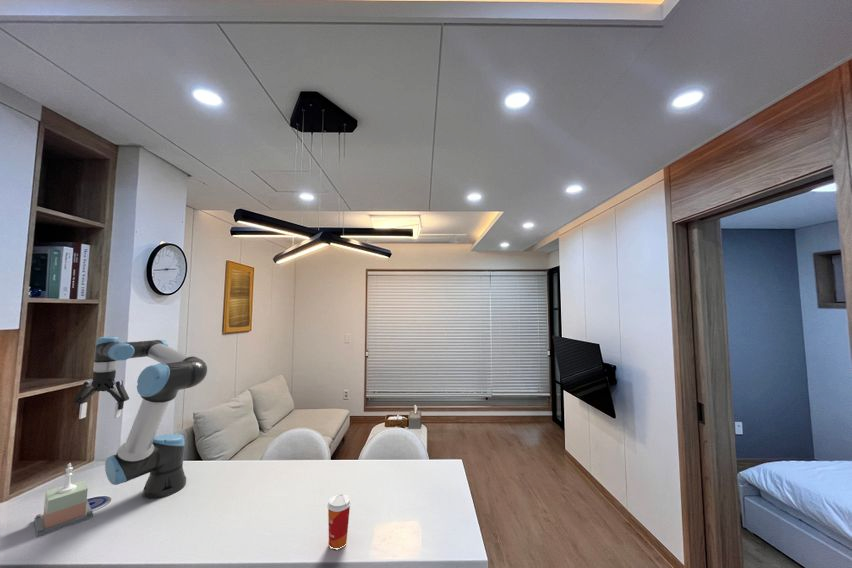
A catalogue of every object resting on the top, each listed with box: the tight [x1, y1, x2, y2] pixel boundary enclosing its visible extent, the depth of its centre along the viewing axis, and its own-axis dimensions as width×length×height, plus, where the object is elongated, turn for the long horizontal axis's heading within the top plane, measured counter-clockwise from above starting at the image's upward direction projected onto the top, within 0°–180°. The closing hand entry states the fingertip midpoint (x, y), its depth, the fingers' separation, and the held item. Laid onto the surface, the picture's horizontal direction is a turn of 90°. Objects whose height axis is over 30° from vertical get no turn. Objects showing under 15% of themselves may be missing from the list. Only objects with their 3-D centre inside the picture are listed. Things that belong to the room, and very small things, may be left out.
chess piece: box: [58, 462, 76, 493], centre depth 124 cm, size 5×5×10 cm
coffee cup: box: [326, 494, 352, 548], centre depth 113 cm, size 8×8×15 cm
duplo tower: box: [33, 479, 94, 538], centre depth 123 cm, size 14×14×11 cm
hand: (100, 417), depth 146 cm, fingers open, 13 cm apart
